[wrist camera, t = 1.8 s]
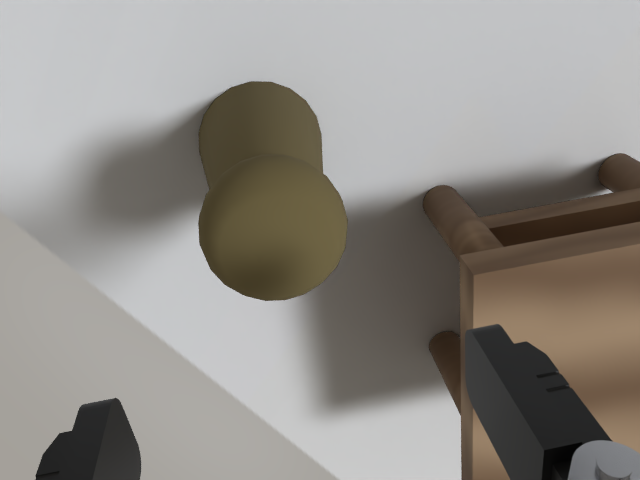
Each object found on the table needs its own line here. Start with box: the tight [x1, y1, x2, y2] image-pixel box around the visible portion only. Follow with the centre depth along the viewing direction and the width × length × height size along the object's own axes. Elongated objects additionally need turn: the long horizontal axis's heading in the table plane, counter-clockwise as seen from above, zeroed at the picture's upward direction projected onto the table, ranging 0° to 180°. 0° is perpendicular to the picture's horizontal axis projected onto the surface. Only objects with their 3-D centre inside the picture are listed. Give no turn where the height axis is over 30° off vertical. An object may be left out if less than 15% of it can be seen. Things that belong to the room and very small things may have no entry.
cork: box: [198, 82, 348, 301], centre depth 23 cm, size 6×6×11 cm
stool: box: [423, 154, 640, 480], centre depth 30 cm, size 14×14×10 cm
